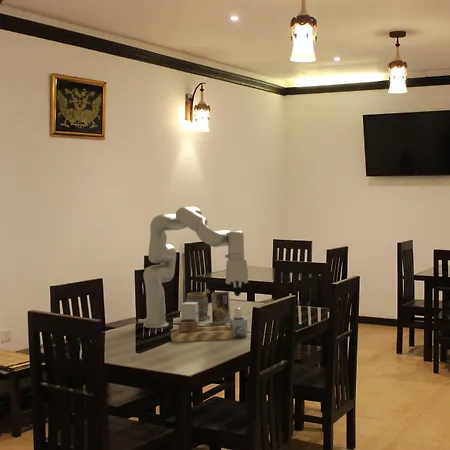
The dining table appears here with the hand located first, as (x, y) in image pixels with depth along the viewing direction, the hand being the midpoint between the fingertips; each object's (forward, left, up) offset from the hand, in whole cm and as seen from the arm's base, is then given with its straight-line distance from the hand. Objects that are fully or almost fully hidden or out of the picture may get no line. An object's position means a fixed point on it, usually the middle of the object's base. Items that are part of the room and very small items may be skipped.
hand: (237, 295), depth 330 cm
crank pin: (0, 0, -14) cm, 14 cm away
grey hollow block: (0, -2, -19) cm, 19 cm away
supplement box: (-21, +27, -19) cm, 39 cm away
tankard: (-13, +54, -19) cm, 59 cm away
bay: (-18, 0, -19) cm, 26 cm away
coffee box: (-4, +36, -19) cm, 41 cm away
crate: (-24, 0, -18) cm, 30 cm away
